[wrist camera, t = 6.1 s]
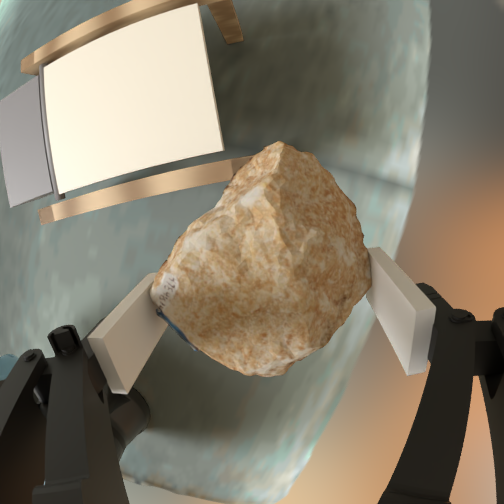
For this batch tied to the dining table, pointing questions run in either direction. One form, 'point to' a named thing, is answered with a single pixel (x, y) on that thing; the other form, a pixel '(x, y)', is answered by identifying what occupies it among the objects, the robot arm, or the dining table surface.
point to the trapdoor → (112, 109)
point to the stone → (266, 266)
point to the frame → (142, 7)
